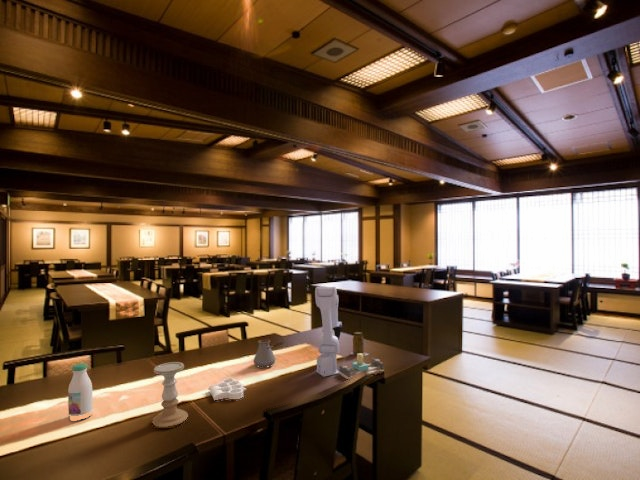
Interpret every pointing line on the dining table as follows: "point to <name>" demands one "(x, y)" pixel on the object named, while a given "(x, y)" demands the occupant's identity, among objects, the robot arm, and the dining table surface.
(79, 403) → the milk bottle
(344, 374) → the rail bed
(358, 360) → the carriage
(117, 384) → the dining table surface
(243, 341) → the dining table surface
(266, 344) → the coffee pot
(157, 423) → the candle holder
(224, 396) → the white flat scalloped piece
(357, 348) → the condiment
